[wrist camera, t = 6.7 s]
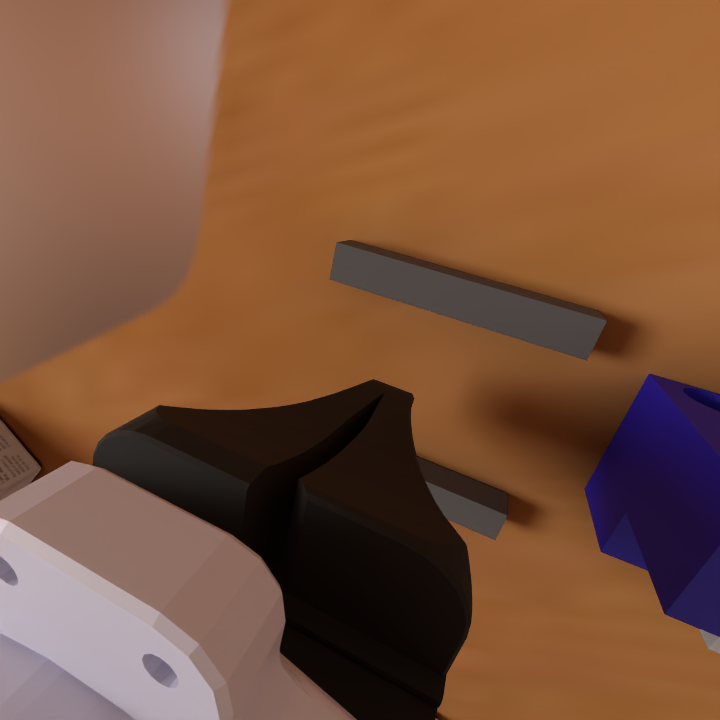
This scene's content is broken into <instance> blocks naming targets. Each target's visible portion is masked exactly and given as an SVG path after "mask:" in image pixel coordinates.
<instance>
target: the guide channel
mask: <svg viewBox="0 0 720 720" xmlns="http://www.w3.org/2000/svg"><path fill="white" fill-rule="evenodd" d="M330 280H333V281H336V282H339V283H343V284H346V285H349V286H352V287H355V288H358V289H362V290H365V291H368V292H371V293H374V294H377V295H381V296H384V297H387V298H390V299H393V300H396V301H400V302H403V303H406V304H409V305H412V306H416V307H419V308H422V309H425V310H428V311H431V312H435V313H438V314H441V315H444V316H447V317H450V318H454V319H457V320H460V321H463V322H466V323H469V324H473V325H476V326H479V327H482V328H485V329H489V330H492V331H495V332H498V333H501V334H504V335H508V336H511V337H514V338H517V339H520V340H523V341H527V342H530V343H533V344H536V345H539V346H542V347H546V348H549V349H552V350H555V351H558V352H562V353H565V354H568V355H571V356H574V357H577V358H581V359H584V360H587V359H588V357H589V355H590V354H591V352H592V350H593V348H594V346H595V344H596V342H597V340H598V338H599V336H600V334H601V332H602V330H603V328H604V326H605V324H606V322H607V320H606V319H605V317H604V316H603V315H602V314H601V313H600V312H599V311H598V310H594V309H591V308H587V307H584V306H580V305H577V304H573V303H570V302H566V301H563V300H559V299H556V298H552V297H549V296H545V295H542V294H538V293H535V292H531V291H528V290H524V289H521V288H517V287H514V286H510V285H507V284H503V283H499V282H496V281H492V280H489V279H485V278H482V277H478V276H475V275H471V274H468V273H464V272H461V271H457V270H454V269H450V268H447V267H443V266H440V265H436V264H433V263H429V262H426V261H422V260H419V259H415V258H412V257H408V256H405V255H401V254H398V253H394V252H391V251H387V250H384V249H380V248H377V247H373V246H370V245H366V244H363V243H359V242H356V241H352V240H348V241H342V242H337V243H336V248H335V254H334V259H333V264H332V270H331V275H330ZM417 459H418V462H419V465H420V468H421V471H422V474H423V476H424V479H425V481H426V484H427V486H428V488H429V490H430V492H431V494H432V496H433V498H434V500H435V502H436V503H437V505H438V506H439V508H440V510H441V511H442V513H443V514H444V516H445V517H446V519H448V520H450V521H452V522H455V523H457V524H459V525H461V526H464V527H466V528H468V529H471V530H473V531H475V532H477V533H480V534H482V535H484V536H487V537H489V538H491V539H493V540H496V538H497V536H498V534H499V532H500V530H501V528H502V526H503V524H504V522H505V520H506V518H507V516H508V494H507V493H505V492H502V491H500V490H498V489H495V488H493V487H490V486H488V485H485V484H483V483H480V482H478V481H475V480H473V479H471V478H468V477H466V476H463V475H461V474H458V473H456V472H453V471H451V470H448V469H446V468H444V467H441V466H439V465H436V464H434V463H431V462H429V461H426V460H424V459H421V458H419V457H417Z"/></svg>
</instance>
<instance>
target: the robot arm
mask: <svg viewBox="0 0 720 720" xmlns="http://www.w3.org/2000/svg"><path fill="white" fill-rule="evenodd" d="M413 401H414V397H413V395H412V393H409V392H406V391H404V390H401V389H398V388H396V387H393V386H390V385H387V384H385V383H382V382H379V381H377V380H374V379H373V380H370V381H367V382H365V383H362V384H359V385H357V386H354V387H352V388H349V389H346V390H343V391H340V392H338V393H335V394H331V395H328V396H325V397H321V398H318V399H314V400H311V401H307V402H302V403H298V404H292V405H287V406H280V407H272V408H260V409H249V410H206V409H192V408H181V407H170V406H162V405H159V406H157V407H155V408H154V409H152V410H150V411H148V412H146V413H144V414H143V415H141V416H139V417H137V418H135V419H133V420H132V421H130V422H128V423H126V424H124V425H122V426H121V427H119V428H117V429H115V430H113V431H111V432H110V433H108V434H106V435H105V436H104V437H103V438H102V439H101V440H100V441H99V442H98V445H97V447H96V450H95V452H94V456H93V466H92V465H88V464H84V463H80V462H75V461H70V462H68V463H66V464H65V465H63V466H61V467H59V468H58V469H56V470H54V471H52V472H50V473H49V474H47V475H45V476H43V477H42V478H40V479H38V480H36V481H34V482H33V483H31V484H29V485H27V486H25V487H24V488H22V489H20V490H18V491H17V492H15V493H13V494H11V495H9V496H8V497H6V498H4V499H2V500H1V501H0V720H438V719H437V718H436V714H437V707H438V708H439V706H440V704H441V702H442V699H443V694H444V687H445V681H446V674H447V672H448V670H449V669H450V667H451V665H452V663H453V661H454V660H455V658H456V656H457V654H458V652H459V651H460V649H461V647H462V645H463V643H464V642H465V640H466V638H467V635H468V632H469V628H470V625H471V618H472V584H471V573H470V564H469V557H468V550H467V546H466V544H465V542H464V541H463V539H462V538H461V537H460V535H459V534H458V533H457V532H456V530H455V529H454V528H453V526H452V525H451V524H450V523H449V521H448V520H447V519H446V517H445V516H444V514H443V513H442V511H441V510H440V508H439V506H438V505H437V503H436V502H435V500H434V498H433V496H432V494H431V492H430V490H429V488H428V486H427V484H426V481H425V479H424V476H423V474H422V471H421V468H420V465H419V462H418V459H417V455H416V451H415V447H414V442H413V436H412V427H411V407H412V404H413Z"/></svg>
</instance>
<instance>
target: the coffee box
mask: <svg viewBox="0 0 720 720" xmlns="http://www.w3.org/2000/svg"><path fill="white" fill-rule="evenodd" d="M40 470H41V467H40V465H39V464H38V463H37V462H36V461H35V459H34V458H33V457H32V456H31V455H30V454H29V452H28V451H27V450H26V449H25V448H24V446H23V445H22V444H21V443H20V442H19V441H18V439H17V438H16V437H15V436H14V435H13V433H12V432H11V431H10V430H9V429H8V427H7V426H6V425H5V424H4V423H3V422H2V420H1V419H0V501H1V500H2V499H4V498H6V497H8V496H9V495H11V494H13V493H15V492H17V491H18V490H20V489H22V488H24V487H25V486H27V485H29V484H30V483H31V482H32V480H33V479H34V478H35V476H36V475H37V474H38V473H39V471H40Z"/></svg>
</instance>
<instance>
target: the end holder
mask: <svg viewBox="0 0 720 720" xmlns="http://www.w3.org/2000/svg"><path fill="white" fill-rule="evenodd" d="M699 630H700V632H701V634H702V636H703V639H704V641H705V643H706V645H707V648H708V649H710V650H713V651H715V652H717V653H719V654H720V637H718V636H715V635H713V634H711V633H708V632H706V631H704V630H701V629H699Z"/></svg>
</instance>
